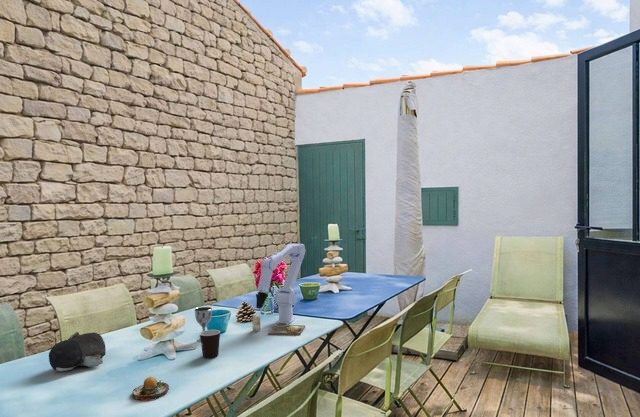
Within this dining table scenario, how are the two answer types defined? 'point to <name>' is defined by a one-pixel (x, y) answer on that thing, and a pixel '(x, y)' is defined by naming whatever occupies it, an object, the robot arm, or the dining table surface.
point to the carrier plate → (286, 329)
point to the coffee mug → (210, 343)
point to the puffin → (77, 352)
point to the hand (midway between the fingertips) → (259, 307)
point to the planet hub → (256, 323)
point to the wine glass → (203, 317)
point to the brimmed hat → (150, 389)
